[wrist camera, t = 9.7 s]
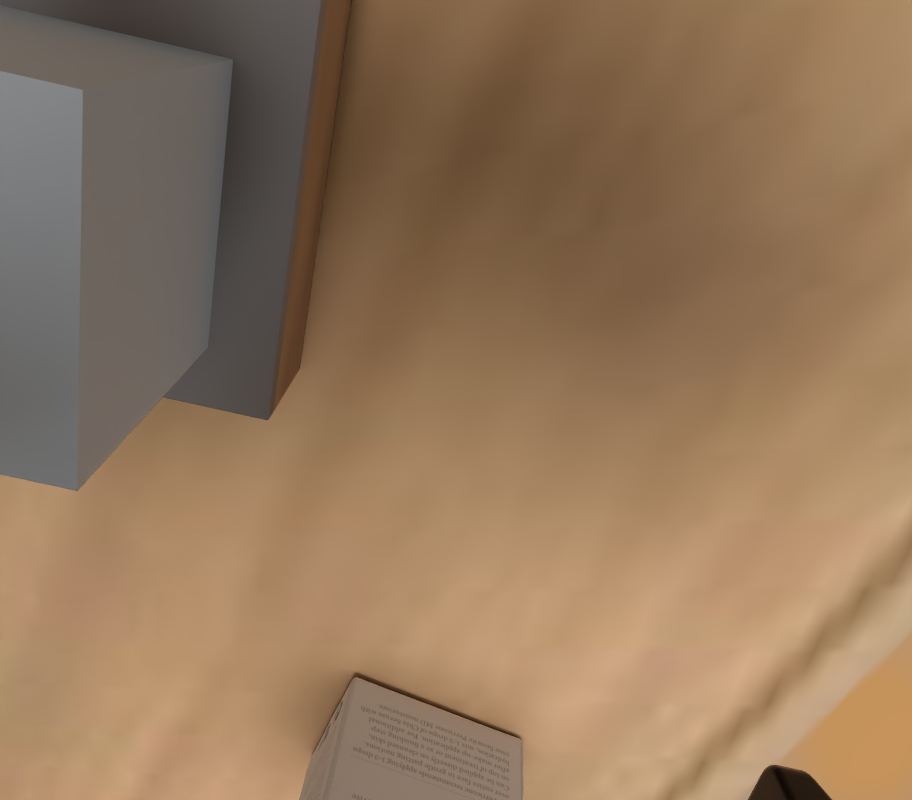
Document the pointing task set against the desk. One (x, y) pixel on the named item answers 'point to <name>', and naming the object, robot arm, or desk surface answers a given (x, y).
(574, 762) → the desk surface
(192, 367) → the base
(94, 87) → the cube
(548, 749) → the desk surface
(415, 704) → the skincare box
